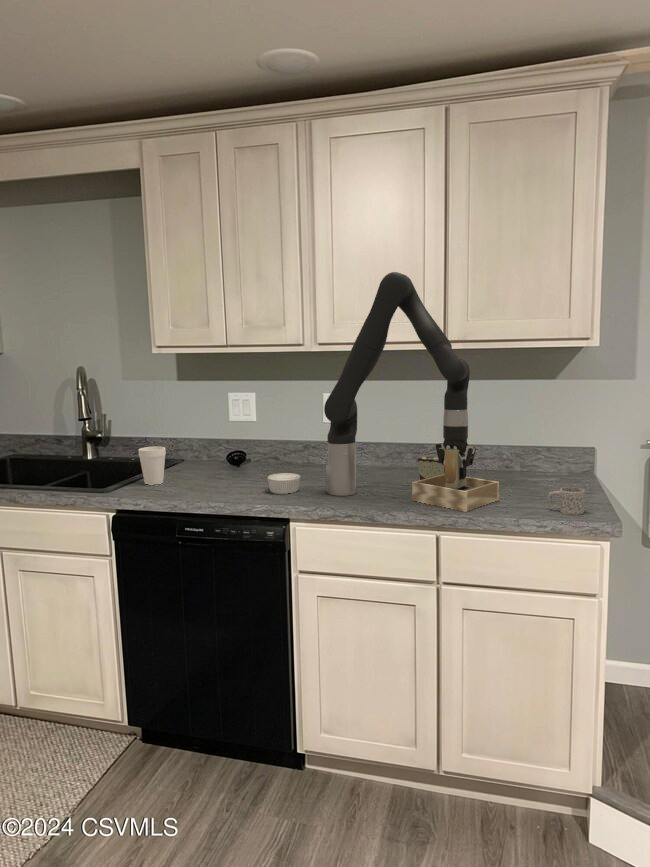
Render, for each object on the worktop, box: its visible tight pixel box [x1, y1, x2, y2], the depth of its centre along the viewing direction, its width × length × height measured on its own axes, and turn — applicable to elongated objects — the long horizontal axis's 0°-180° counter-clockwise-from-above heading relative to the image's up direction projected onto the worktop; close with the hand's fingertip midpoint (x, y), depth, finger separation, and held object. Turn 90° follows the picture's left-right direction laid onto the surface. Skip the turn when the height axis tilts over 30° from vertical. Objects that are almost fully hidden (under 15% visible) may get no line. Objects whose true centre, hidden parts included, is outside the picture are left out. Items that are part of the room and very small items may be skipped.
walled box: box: [411, 474, 500, 513], centre depth 211 cm, size 20×18×6 cm
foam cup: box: [138, 445, 167, 485], centre depth 244 cm, size 10×9×13 cm
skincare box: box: [444, 448, 467, 489], centre depth 210 cm, size 6×4×12 cm
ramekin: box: [267, 472, 301, 495], centre depth 229 cm, size 11×11×5 cm
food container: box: [415, 454, 444, 481], centre depth 233 cm, size 12×6×10 cm, turn 48°
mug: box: [547, 486, 586, 516], centre depth 196 cm, size 10×7×7 cm, turn 71°
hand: (455, 477), depth 210 cm, fingers closed on skincare box, 4 cm apart
